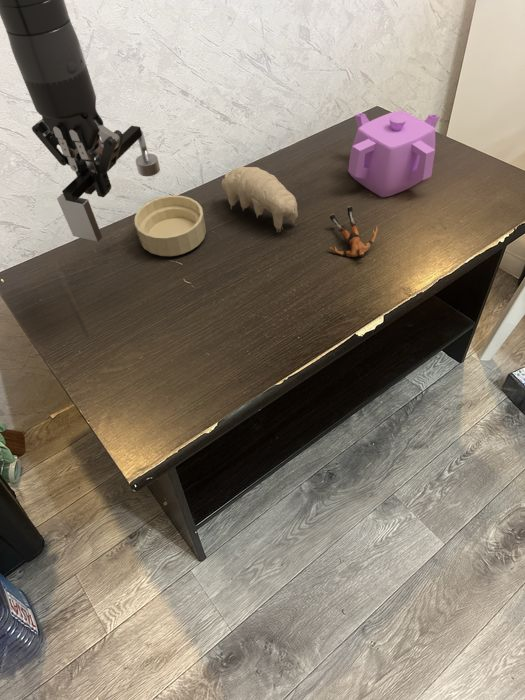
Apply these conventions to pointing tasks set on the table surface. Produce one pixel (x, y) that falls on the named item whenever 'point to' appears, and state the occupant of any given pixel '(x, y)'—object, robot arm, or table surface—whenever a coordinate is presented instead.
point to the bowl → (170, 225)
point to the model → (260, 193)
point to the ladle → (79, 208)
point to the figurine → (352, 238)
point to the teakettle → (392, 152)
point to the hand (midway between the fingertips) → (98, 192)
